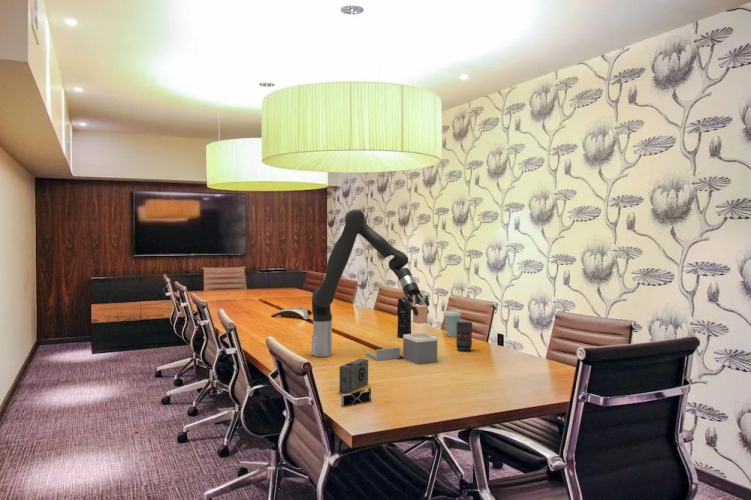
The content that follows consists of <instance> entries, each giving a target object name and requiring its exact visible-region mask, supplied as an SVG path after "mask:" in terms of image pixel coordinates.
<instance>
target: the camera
mask: <svg viewBox="0 0 751 500" xmlns="http://www.w3.org/2000/svg"><path fill="white" fill-rule="evenodd" d="M367 383H368V384H369V359H364V358H359V359H356V360H353V361H350V362H347V363H345V364H343V365H339V387H338V388H339V393H343V394H350V393H352V392H353V390H354V391H355V389H356V390H357V388H358V389H360V388H362V387H364V386H366V385H368V384H367ZM365 384H366V385H365ZM363 385H364V386H363ZM361 386H362V387H361ZM359 387H360V388H359Z"/></svg>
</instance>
